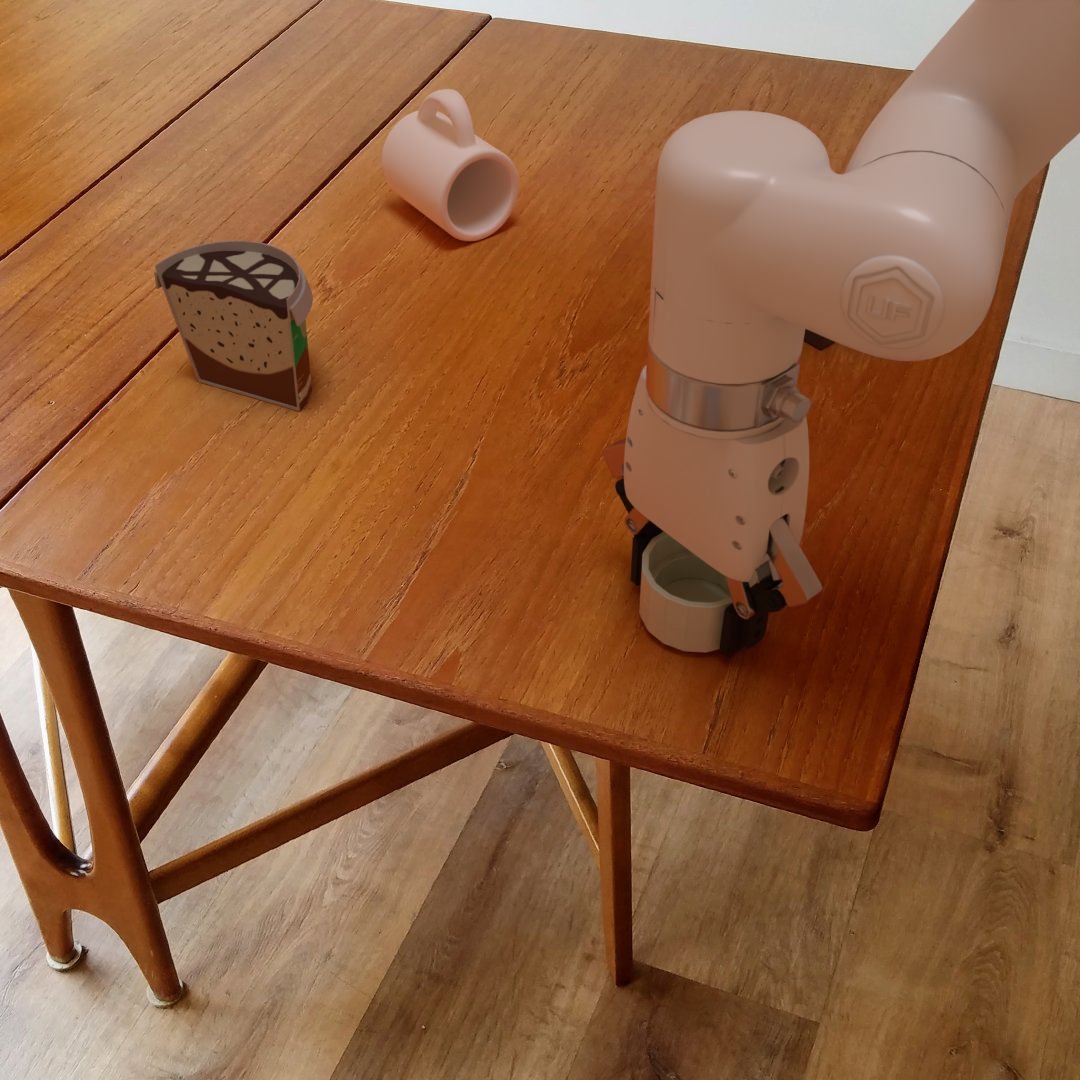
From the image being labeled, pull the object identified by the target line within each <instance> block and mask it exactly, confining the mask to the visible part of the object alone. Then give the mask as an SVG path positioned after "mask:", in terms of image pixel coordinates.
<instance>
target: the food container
mask: <svg viewBox="0 0 1080 1080" xmlns="http://www.w3.org/2000/svg"><path fill="white" fill-rule="evenodd" d="M154 268H155V271H153V272H154V283H155V289H157V290H160V289H161V288H162V290H163V293H164V296H165V298H166V301H167V304H168V306H169V308H170V312H171V315H172V316H173V319H174V322H175V325H176V327H177V330H178V333H179V336H180V337H181V341H182V343H183V345H184V348H185V351H186V354H187V356H188V359H189V361H190V364H191V367H192V369H193V372H194V375H195V377H196V380H197V382H198V383H200V384H203V385H208V386H211V387H215V388H217V389H222V390H225V391H228V392H232V393H234V394H239V395H242V396H245V397H249V398H251V399H255V400H259V401H261V402H266V403H269V404H271V405H275V406H279V407H281V408H285V409H289V410H293V411H296V412H299V413H301V411H303V409H304V408H305V407H306V406H307V404H308V402H309V399H310V396H311V393H312V390H313V388H312V377H311V366H310V353H309V342H308V331H307V320H306V319H307V318H308V316H309V314H310V312H311V309H312V307H313V302H314V300H313V299H314V296H313V291H312V288H311V286H310V283H309V281H308V278H307V276H306V274H305V272H304V270H303V269H302V267H301V265H299V264H298V263H297V261H296V259H295V258H293V256H292V255H291V254H289V253H287V252H286V251H285V250H283V249H281V248H279V247H277V246H275V245H271V244H268V243H263V242H258V241H253V240H251V241H250V240H223V241H222V240H221V241H214V242H208V243H207V242H206V243H203V244H199V245H195V246H191V247H189V248H186V249H183V250H180V251H178V252H175V253H173V254H171V255H169V256H168V257H166V258H163V259H162V260H161V261H159V262H157V263H156V264H154Z"/></svg>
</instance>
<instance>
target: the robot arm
mask: <svg viewBox="0 0 1080 1080" xmlns="http://www.w3.org/2000/svg"><path fill="white" fill-rule="evenodd" d="M1079 134H1080V0H974V1H973V2H972V3H971V4H970V5H969V6H968V7H967V8H966V9H965V11H964V12H963V13H962V14H961V15H960V17H959V18H958V19H957V20H956V21H955V23H953V24H952V25H951V27H950V28H949V29H948V31H946V33H945V34H944V35H943V36H942V37H941V38H940V40H939V41H938V42H937V43H936V44H935V46H934V47H933V48H932V49H931V50H930V51H929V52H928V53H927V55H926V56H925V57H924V59H922V61H921V62H919V64H918V66H917V67H916V68H915V69H914V70H913V71H912V72H911V73H910V74H909V76H908V77H906V79H905V81H904V82H903V83H902V84H901V85H900V86H899V87H898V88H897V89H896V91H895V92H894V93H893V95H892V96H891V97H890V98H889V99H888V101H887V102H886V103H885V104H884V105H883V107H882V109H881V110H880V111H879V112H878V113H877V115H876V116H875V117H874V118H873V120H872V122H870V124H869V125H868V127H867V129H866V130H865V132H864V133H863V135H862V137H861V138H860V140H859V142H858V144H857V145H856V148H855V149H854V151H853V154H852V156H851V158H850V160H849V161H848V164H847V165H846V168H845V171H844V172H843V173H837V172H835V171H834V170H833V169H832V167H831V162H830V159H829V155H828V152H827V149H826V147H825V146H824V144H823V142H822V141H821V140H820V138H819V136H818V135H816V133H815V132H813V131H812V130H810V129H809V128H808V127H806V126H805V125H804V124H803V123H801V122H798V121H795V120H794V119H791V118H789V117H786V116H784V115H783V116H782V115H778V114H776V113H770V112H765V111H757V110H744V109H743V110H726V111H720V112H719V111H717V112H713V113H708V114H705V115H701V116H699V117H697V118H694V119H692V120H689V122H687V123H685V124H683V125H681V126H680V127H678V128H677V129H676V130H675V131H674V132H673V133H672V135H671V136H670V137H669V138H668V140H667V141H666V142H665V144H664V146H663V148H662V150H661V152H660V156H659V160H658V163H657V170H656V180H655V196H654V197H655V199H654V202H655V203H654V216H653V217H654V218H653V237H652V254H651V270H650V271H651V275H650V296H649V317H648V318H649V319H648V321H649V322H648V335H647V346H646V347H647V348H646V349H647V350H646V364H645V365H644V367H643V369H642V370H641V373H640V376H639V378H638V381H637V384H636V387H635V390H634V394H633V398H632V403H631V408H630V411H629V416H628V420H627V421H628V422H627V428H626V434H625V436H626V437H625V438H622V439H618V440H615V442H613V443H611V444H610V445H607V446H606V447H604V448H602V456H603V458H604V460H605V463H606V465H607V467H608V469H609V472H610V473H611V475H612V478H613V479H616V482H615V484H614V486H615V491H616V493H617V495H618V496H619V499H620V501H621V502H622V504H623V507H624V508H625V510H626V511H627V515H626V516H625V518H624V524H625V527H626V529H627V530H628V531H629V532H630V533H631V534H633V537H632V543H631V544H632V545H631V562H630V563H631V565H630V582H631V583H632V584H634V585H635V586H636V587H641V570H642V554H643V552H644V550H645V549H646V547H647V546H648V544H649V542H650V541H651V539H652V538H654V537H655V536H657V535H659V534H660V533H662V532H663V531H664V532H666V533H667V534H668V535H669V536H671V537H672V538H673V539H675V540H676V541H677V542H679V543H680V544H681V545H683V546H684V547H685V548H687V549H688V550H689V551H691V552H692V553H693V554H695V555H696V556H697V557H699V558H700V559H702V560H703V561H704V562H706V563H707V564H708V565H710V566H711V567H713V568H714V569H715V570H717V571H718V572H720V573H721V574H723V575H725V577H726V581H727V584H728V588H729V591H730V595H731V598H732V602H733V603H732V604H731V605H729V606H728V607H727V608H726V609H725V611H724V618H723V625H722V633H721V640H720V647H719V649H718V650H719V652H720V654H721V655H722V656H724V657H725V658H726V659H727V660H728V659H731V658H733V657H734V656H735V655H736V654H737V653H739V652H740V651H742V650H743V649H744V648H746V649H752V648H754V647H755V646H757V645H758V644H760V642H761V641H762V640H763V638H764V637H765V635H766V632H767V626H768V622H769V621H768V620H769V615H770V613H778V612H780V611H781V610H783V609H787V608H788V609H791V608H794V607H799V606H802V605H806V604H808V603H809V602H810V601H812V600H813V599H814V598H816V597H817V596H819V595H820V594H821V593H822V592H823V584H822V583H821V581H820V579H819V577H818V575H817V573H816V572H815V570H814V568H813V567H812V565H811V563H810V561H809V559H808V557H807V556H806V555H805V553H804V551H803V549H802V547H801V546H800V545H801V541H802V539H803V532H804V528H805V520H806V514H807V505H808V495H809V494H808V493H809V483H810V437H809V428H808V427H809V425H808V419H807V415H808V413H809V411H810V409H811V405H812V401H811V399H810V398H809V397H808V396H806V395H804V394H802V391H801V389H800V388H798V381H799V376H800V370H801V358H802V352H803V345H804V334H805V329H807V330H810V331H812V332H814V333H816V334H819V335H821V336H823V337H825V338H828V339H830V340H832V341H834V343H837V344H838V345H842V346H843V347H847V348H849V349H852V350H854V351H857V352H860V353H863V354H865V355H868V356H872V357H875V358H880V359H884V360H891V361H896V362H897V361H898V362H919V361H926V360H930V359H931V360H932V359H935V358H938V357H941V356H943V355H946V354H948V353H950V352H952V351H954V350H955V349H957V348H958V347H960V346H962V345H963V344H964V343H965V342H966V341H968V340H969V339H970V338H971V337H972V336H973V335H974V334H975V332H976V331H977V330H978V329H979V327H980V326H981V325H982V323H983V322H984V320H985V318H986V316H987V314H988V313H989V310H990V308H991V305H992V302H993V299H994V296H995V293H996V289H997V284H998V280H999V277H1000V272H1001V266H1002V261H1003V256H1004V251H1005V247H1006V241H1007V236H1008V231H1009V227H1010V221H1011V217H1012V212H1013V208H1014V204H1015V200H1016V198H1017V196H1018V195H1019V194H1020V193H1021V192H1022V190H1023V189H1024V188H1026V186H1027V185H1028V184H1029V183H1030V182H1031V180H1033V179H1034V178H1035V177H1036V176H1037V175H1038V174H1039V173H1040V172H1041V171H1042V170H1043V169H1044V168H1045V167H1046V166H1047V165H1048V164H1049V163H1050V162H1051V161H1052V160H1054V158H1055V157H1056V156H1057V155H1058V154H1059V153H1060V152H1061V151H1062V150H1063V149H1064V148H1065V147H1066V146H1067V145H1069V143H1071V142H1072V141H1073V140H1074V139H1075V138H1076V137H1077V136H1078V135H1079ZM755 570H756V572H757V576H758V579H759V580H758V583H756V584H754V585H753V586H752V587H750V585H749V581H751V579H752V578H753V575H754V571H755Z"/></svg>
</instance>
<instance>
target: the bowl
mask: <svg viewBox="0 0 1080 1080" xmlns="http://www.w3.org/2000/svg"><path fill="white" fill-rule="evenodd" d="M756 583H759V579H758V576H757V572H756V570H755V571H754V575H753V578H752V579H751V581H749V585H750V587H752V586H753V585H754V584H756ZM639 588H640V590H639V607H638V609H639V611H638V614H639V616H640V619H641V620H642V622H643V624H644V626H645V628H646V630H647V631H648V633H650V634H651V635H652V636H654V638H656V639H657V640H658V641H659V642H661V643H662V644H664V645H667V646H669V647H671V648H673V649H677V650H679V651H682V652H687V653H688V652H691V653H710V652H714V651H718V650H720V649H719V647H720V640H721V633H722V625H723V618H724V611H725V609H726V608H727V607H728V606H729V605H731V604H732V603H733V602H732V598H731V595H730V591H729V588H728V584H727V581H726V577H725V575H723V574H721V573H720V572H718V571H717V570H715V569H714V568H713V567H711V566H710V565H708V564H707V563H706V562H704V561H703V560H702V559H700V558H699V557H697V556H696V555H695V554H693V553H692V552H691V551H689V550H688V549H687V548H685V547H684V546H683V545H681V544H680V543H679V542H677V541H676V540H675V539H673V538H672V537H671V536H669V535H668V534H667V533H666V532H664V531H663V532H662V533H660V534H659V535H657V536H655V537H654V538H652V539H651V541H650V542H649V544H648V546H647V547H646V549H645V550H644V552H643V554H642V570H641V586H639Z"/></svg>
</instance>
